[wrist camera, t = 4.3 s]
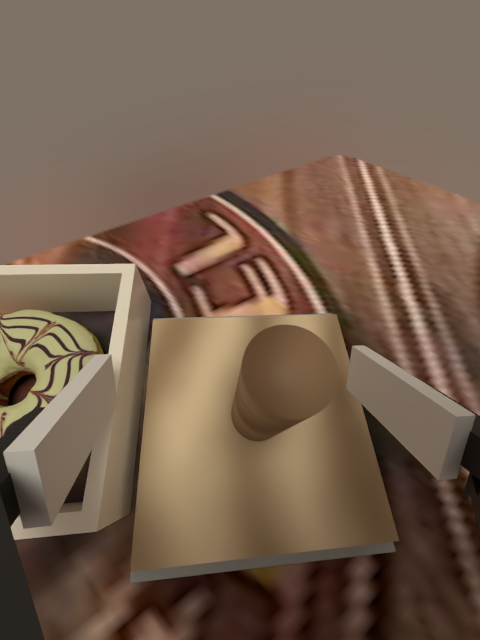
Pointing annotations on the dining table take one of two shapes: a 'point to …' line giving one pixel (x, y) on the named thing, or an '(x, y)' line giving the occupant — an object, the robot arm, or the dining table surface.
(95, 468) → the wooden box
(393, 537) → the oak cover
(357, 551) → the rubber mat
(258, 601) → the dining table surface
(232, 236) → the dining table surface
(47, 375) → the decorated donut
